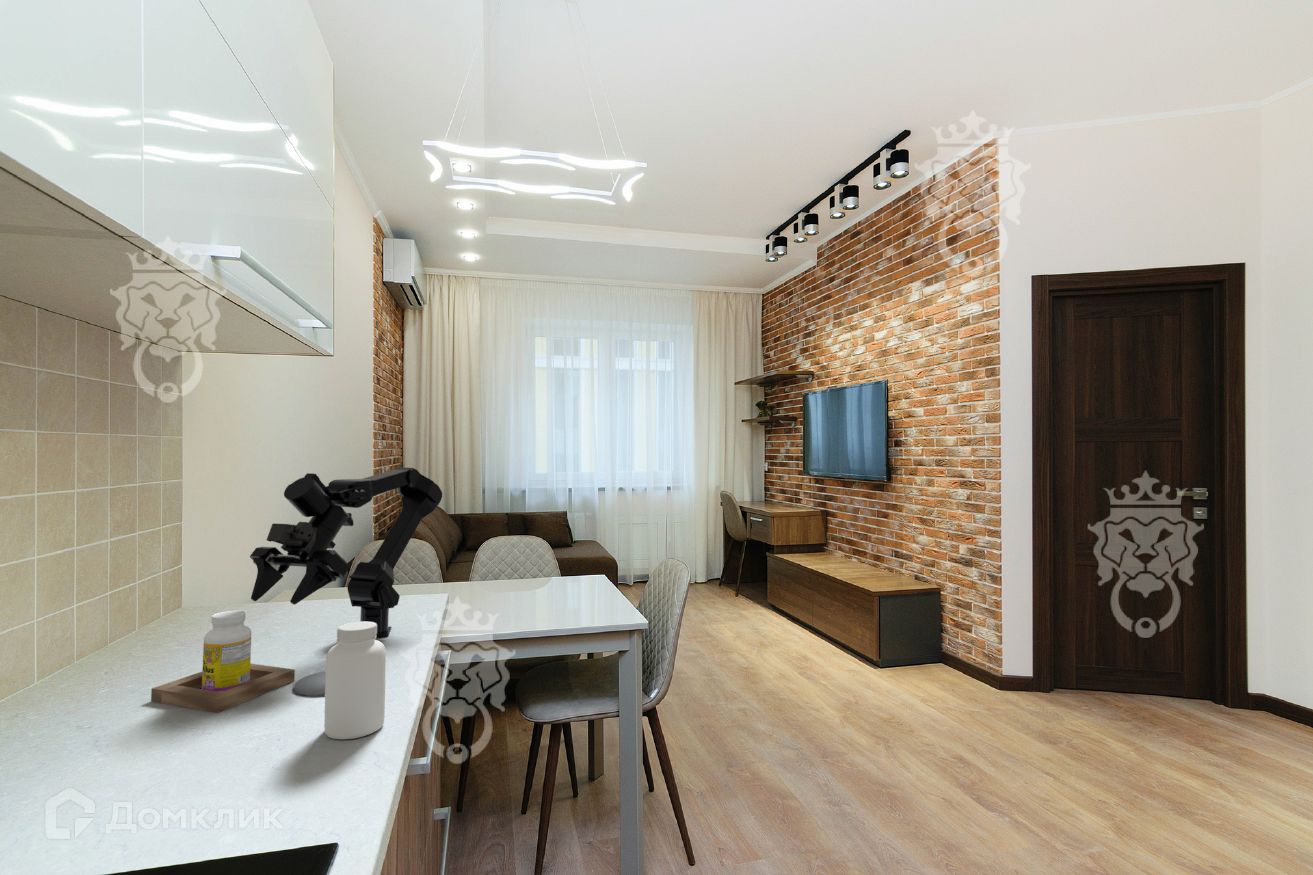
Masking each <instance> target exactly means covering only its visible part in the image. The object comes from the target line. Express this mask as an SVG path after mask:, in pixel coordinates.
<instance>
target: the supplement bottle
mask: <svg viewBox="0 0 1313 875" xmlns="http://www.w3.org/2000/svg"><path fill="white" fill-rule="evenodd" d="M245 620H246V611H244V610H228V611H221V612H218V613H215V614H212V615H211V621H210V622H211V624H212V629H210V630H208V631H207V632H206V633H205V635H204V637H203V652H202V653H203V654H202V671H201V672H202V688H201V689H203V690H209V691H216V692H223V691H226V690H229V689H231V688H234V687H236V686H239V685H242V684H244V683H247V682H249V681H250V663H251V661H252V660H251V656H252V653H251V652H252V630H251V628H250V627H249V626H247V625H244V624H245V623H244V622H245Z"/></svg>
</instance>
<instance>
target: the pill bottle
mask: <svg viewBox="0 0 1313 875" xmlns="http://www.w3.org/2000/svg"><path fill="white" fill-rule="evenodd" d="M376 634H377V624H376V623H374V622H368V621H362V622H360V621H353V622H348V623H344V624H341V625H340V626H338V627H337V629H336V643H337V644H335V645H334V646H332V647H330V649H329V650H328V652H326V653H327V654H326V656H325V671H326V678H325V696H324V726H323V727H324V732H325V736H327V737H328V738H330V739H334V740H351V739H358V738H362V737H365V736H368V735H371V734H373V733H375V732H377V731H378V730H380V729H382V727H383V726H384V723H385V717H386V715H385V713H386V711H385V709H386V671H387V670H386V669H387V668H386V667H387V666H386V665H387V664H386V663H387V660H386V658H387V657H386V656H387V652H386V651H387V650H386V647H385V645H384V643H382V642H381V641H379V640H377V638H378V637H377V636H376Z"/></svg>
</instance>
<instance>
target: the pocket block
mask: <svg viewBox="0 0 1313 875" xmlns="http://www.w3.org/2000/svg"><path fill="white" fill-rule="evenodd" d="M295 672H296V670H295V669H294V668H287V667H279V666H273V665H272V666H271V665H265V664H257V663H251V662H250V681H249V682H247V683H244V684H242V685H239V686H236V687H234V688H231V689H229V690H226V691H223V692H216V691H209V690H203V689H202V671H199V672H197V673H194V674H190V675H188V676H185V677H181V678H179V679H178V678H177V679H176V680H173V681H170V682H166V683H164V684H161V685H159V686H154V687H152V688H151V691H150V692H151V693H150V694H151V695H150V696H151V697H150V702H154V703H159V704H160V703H161V704H164V705H172V706H177V707H183V708H189V709H195V710H201V711H206V712H212V713H221V712H222V711H225V710H228V709H230V708H233V707H235V706H237V705H239V704H242V703H244V702H247V701H249V700H252V699H255V698H257V697H259V696H261V695H265V694H266V693H268V692H271V691H273V690H276V689H279V688H281V687H283V686H285V685H288V684H291V683H293V682H294V681H295ZM200 688H201V689H200Z"/></svg>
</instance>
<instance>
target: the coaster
mask: <svg viewBox="0 0 1313 875" xmlns="http://www.w3.org/2000/svg"><path fill="white" fill-rule="evenodd" d="M325 678H326V670H324V671H320V672H315V673H312V674H309V675H306V676H304V677H302V678H300V679H298V680H297V681H296V682H295V683H294V684H293V691H294V693H296V694H297V693H298V694H297V695H300V696H304V695H306V697H324V696H323V695H325Z"/></svg>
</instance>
